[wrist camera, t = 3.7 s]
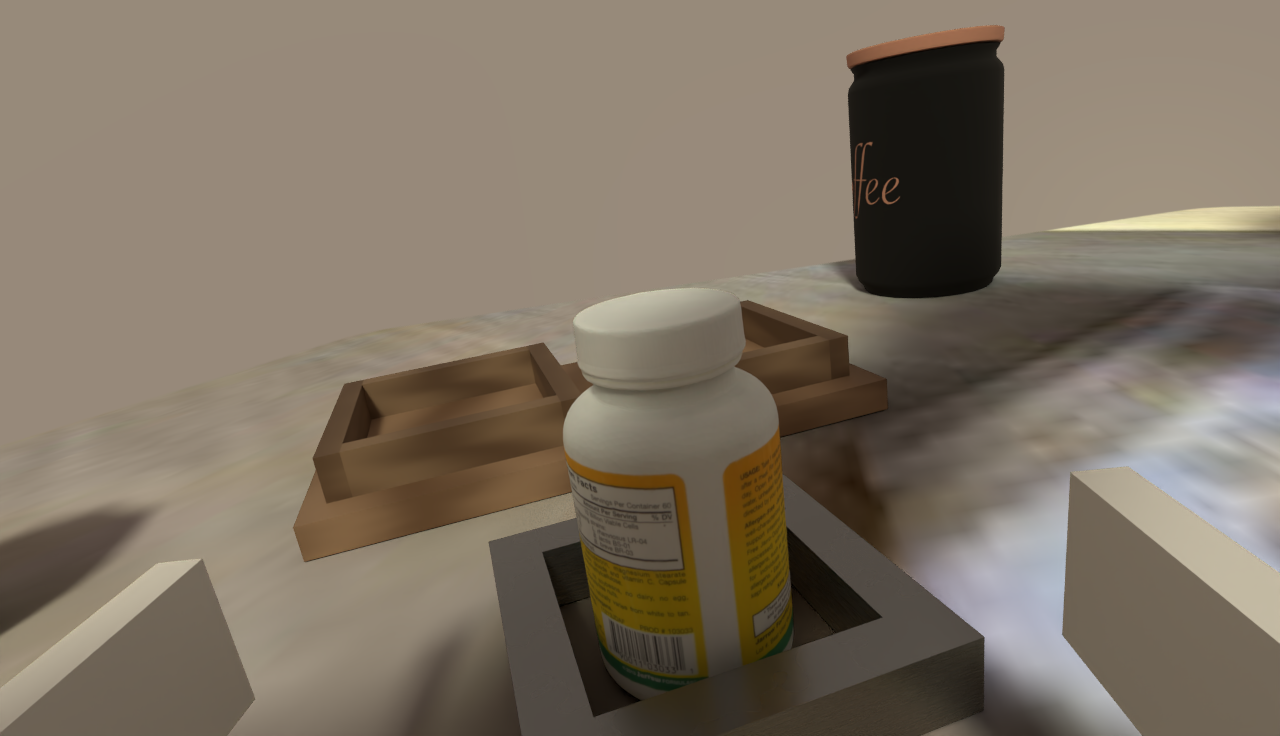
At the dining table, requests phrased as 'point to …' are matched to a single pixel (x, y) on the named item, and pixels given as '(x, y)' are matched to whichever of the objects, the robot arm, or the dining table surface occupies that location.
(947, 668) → the can holder
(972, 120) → the coffee jar
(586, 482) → the supplement bottle
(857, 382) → the walnut rack
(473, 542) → the dining table surface
